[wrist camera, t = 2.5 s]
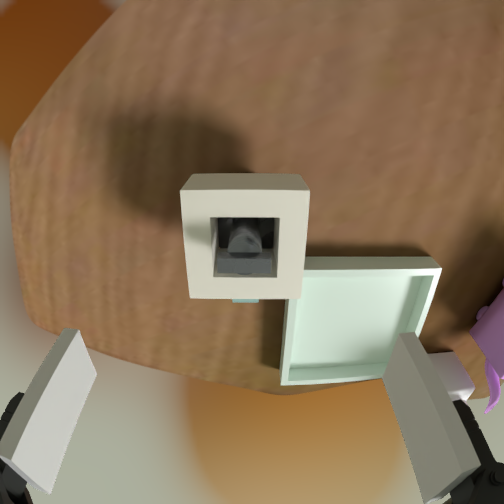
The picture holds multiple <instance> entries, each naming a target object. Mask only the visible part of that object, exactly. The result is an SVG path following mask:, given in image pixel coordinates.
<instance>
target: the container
mask: <svg viewBox="0 0 504 504" xmlns="http://www.w3.org/2000/svg"><path fill="white" fill-rule="evenodd" d="M427 355H428V357H429V358H430V360H431V362H432V364H433V366H434V368H435V369H436V371H437V373H438V375H439V377H440V379H441V381H442V383H443V385H444V386H445V388H446V390H447V392H448V394H449V396H450V398H451V400H452V401H455V400H459V399H461V400H462V401H463V402H464V403H465V404H466V405H467V406H468V404H467V403H466V400H467V399H468V398H469V396H470V395H471V394H472V392H473V391H474V389H475V386H474V384H473V382H472V380H471V379H470V377H469V375H468V373H467V372H466V370H465V368H464V367H463V365H462V363H461V362H460V360H459V358H458V357H457V355H456V353H455V352H445V353H433V354H427ZM475 421H476V420H475Z"/></svg>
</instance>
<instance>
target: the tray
mask: <svg viewBox="0 0 504 504" xmlns="http://www.w3.org/2000/svg"><path fill="white" fill-rule="evenodd" d="M441 270H442V268H441V267H440V266H439V265H438V263H437V262H436V261H435V260H434V259H433V258H432V257H305V261H304V272H303V282H302V292H301V299H285V311H284V324H283V335H282V347H281V358H280V369H279V371H280V383H281V385H304V384H323V383H337V382H349V381H360V380H369V379H378V378H382V377H383V374H384V372H385V369H386V367H387V364H388V362H389V359H390V357H391V354H392V351H393V349H394V346H395V343H396V340H397V338H398V335H399V333H409V332H415V334H416V335H417V337H419V334H420V332H421V329H422V327H423V324H424V321H425V319H426V316H427V313H428V310H429V307H430V305H431V302H432V299H433V296H434V293H435V290H436V286H437V283H438V280H439V277H440V274H441Z"/></svg>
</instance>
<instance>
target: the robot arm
mask: <svg viewBox="0 0 504 504" xmlns="http://www.w3.org/2000/svg"><path fill="white" fill-rule="evenodd" d="M96 376H97V373H96V371H95V368H94V366H93V364H92V361H91V359H90V357H89V354H88V352H87V349H86V347H85V344H84V342H83V339H82V337H81V334H80V331H79V330H78V329H70V328H64V329H63V331H62V333H61V334H60V336H59V337H58V339H57V340H56V342H55V343H54V345H53V347H52V349H51V350H50V352H49V353H48V355H47V356H46V358H45V360H44V361H43V363H42V365H41V366H40V368H39V370H38V372H37V373H36V375H35V377H34V378H33V380H32V382H31V384H30V385H29V387H28V389H27V391H26V392H25V394H24V393H20V392H19V393H18V394H17V395H15V396H14V397H13V398H12V399H11V400H10V402H9V404H8V405H7V407H6V409H5V412H4V413H3V415H2V417H1V420H0V504H33V502H32V499H31V497H30V494H29V491H28V490H27V488H26V484H27V482H28V483H29V484H30V485H31V486H32V487H34V488H35V489H37V490H40V491H42V492H44V493H47V494H51V492H52V489H53V486H54V483H55V480H56V477H57V474H58V471H59V468H60V465H61V462H62V460H63V457H64V454H65V451H66V449H67V446H68V443H69V441H70V438H71V436H72V433H73V430H74V428H75V425H76V423H77V420H78V418H79V415H80V413H81V410H82V408H83V406H84V403H85V401H86V399H87V396H88V394H89V392H90V389H91V387H92V385H93V382H94V380H95V378H96ZM382 380H383V382H384V385H385V388H386V391H387V393H388V396H389V399H390V401H391V404H392V407H393V410H394V412H395V415H396V418H397V421H398V424H399V426H400V429H401V432H402V435H403V438H404V441H405V444H406V447H407V450H408V453H409V456H410V459H411V462H412V465H413V469H414V472H415V475H416V478H417V482H418V485H419V488H420V492H421V495H422V499H423V502H424V504H428V503H431V502H433V501H436V500H439V499H442V498H443V497H444V496H446V495H447V494H448V493H449V492H450V495H451V498H450V499H448V500H447V501H446V502H444V503H443V504H504V464H503V463H499V462H496V461H495V459H494V457H493V455H492V453H491V451H490V449H489V446H488V444H487V442H486V440H485V438H484V436H483V433H482V431H481V429H479V425H478V423H477V421H475V417H474V415H473V413H472V411H471V409H470V407H469V406H467V405H466V404H465V403H464V402H463V401H462V400H461V399H459V400H455V401H452V400H451V398H450V396H449V394H448V392H447V390H446V388H445V386H444V385H443V383H442V381H441V379H440V377H439V375H438V373H437V371H436V369H435V368H434V366H433V364H432V362H431V360H430V358H429V357H428V355H427V353H426V351H425V349H424V348H423V346H422V344H421V342H420V341H419V339H418V337H417V335H416V334H415V332H409V333H399V335H398V338H397V340H396V343H395V346H394V349H393V351H392V354H391V357H390V359H389V362H388V364H387V367H386V369H385V372H384V374H383V377H382Z"/></svg>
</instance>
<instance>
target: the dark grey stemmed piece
mask: <svg viewBox="0 0 504 504" xmlns="http://www.w3.org/2000/svg"><path fill="white" fill-rule="evenodd" d="M218 237H219V247H220V248H228V251H227V252H218V255H217V272H218V273H237V274H240V275H249V274H252V273H271V253H264V252H262V249H271V248H273V243H274V217H218Z"/></svg>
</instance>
